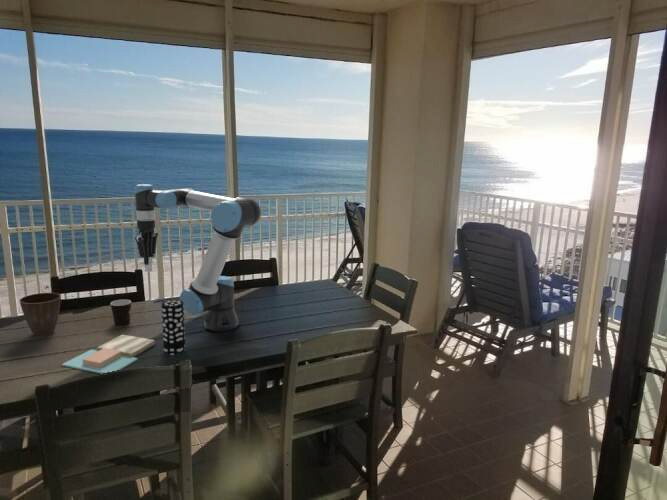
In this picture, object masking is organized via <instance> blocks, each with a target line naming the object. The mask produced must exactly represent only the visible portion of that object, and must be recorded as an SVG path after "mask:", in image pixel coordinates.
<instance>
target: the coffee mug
mask: <svg viewBox="0 0 667 500" xmlns="http://www.w3.org/2000/svg"><path fill="white" fill-rule="evenodd" d="M110 307H111V313H112V317H113V323H114V325H115V326H117V327H125V326H127V325H129V324H131V311H132V301H131V300H130V299H117V300H116V299H115V300H113V301H111V302H110Z"/></svg>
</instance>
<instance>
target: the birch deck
mask: <svg viewBox="0 0 667 500" xmlns="http://www.w3.org/2000/svg"><path fill="white" fill-rule="evenodd" d="M155 340H156V339H152V338H151V339H149V338H145V337H138V336H133V335H126V334H121V335H119V336H117V337H115V338H112V339H111V340H108V341H106V342H105V343H103V344H101V345H99V346H96V348H97V349H96V350H97V351H100V350H102V349H104V348H108V349H113V350H119V351H122V355H124V356H129V357H134V358H135V357H136V356H138V355H139V354H141V353H144V352H145V351H146V350H148V349H149V348H151V347H154V346H155V345H156V343H155Z"/></svg>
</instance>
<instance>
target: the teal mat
mask: <svg viewBox="0 0 667 500" xmlns="http://www.w3.org/2000/svg"><path fill="white" fill-rule="evenodd" d="M96 352H98V351H97V349H90V350H88V351H86V352H84V353H82V354H79V355H77V356H75V357H73V358H72V359H69V360H68V361H65V362H64V363H62V364H61V365H62V366H63V367H67V368H71V369H77V370H81V371H86V372H92V373H97V374H101V375H104V374H103V373H107V372H112V371H117V370H119V371H121V370H122V369H124V368H126V367H128V366H129V365H131V364H133V363H134V362H136V361H138V359H139V358H137V357H135V356H134V357H129V356H124V355H122V356H121V357H119V358H117V359H115V360H114V361H112V362H110V363H108V364H106V365H105V366H103V367H101V368H98V367H93V366H89V365H84V364H83V360H82V359H84V358H86V357H88V356H90V355H92V354H94V353H96Z"/></svg>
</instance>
